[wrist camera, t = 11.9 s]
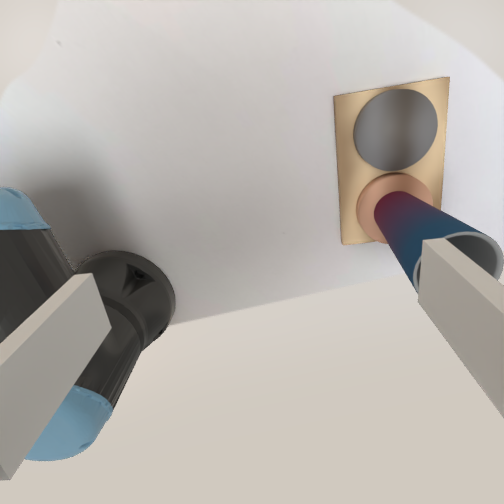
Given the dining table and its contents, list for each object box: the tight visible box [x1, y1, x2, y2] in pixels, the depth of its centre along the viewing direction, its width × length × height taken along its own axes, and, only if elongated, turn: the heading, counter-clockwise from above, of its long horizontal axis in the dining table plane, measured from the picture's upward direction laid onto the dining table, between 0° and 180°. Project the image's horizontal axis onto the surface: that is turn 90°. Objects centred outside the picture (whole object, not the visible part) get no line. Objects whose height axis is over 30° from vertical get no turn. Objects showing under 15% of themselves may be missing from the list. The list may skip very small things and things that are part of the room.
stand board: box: [334, 77, 450, 245], centre depth 40 cm, size 12×18×3 cm, turn 9°
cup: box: [374, 191, 504, 294], centre depth 34 cm, size 7×7×15 cm
